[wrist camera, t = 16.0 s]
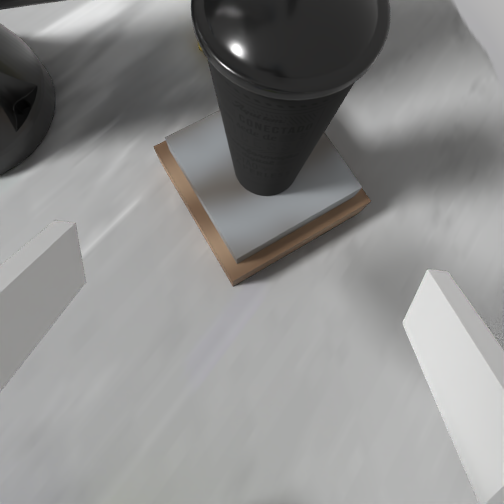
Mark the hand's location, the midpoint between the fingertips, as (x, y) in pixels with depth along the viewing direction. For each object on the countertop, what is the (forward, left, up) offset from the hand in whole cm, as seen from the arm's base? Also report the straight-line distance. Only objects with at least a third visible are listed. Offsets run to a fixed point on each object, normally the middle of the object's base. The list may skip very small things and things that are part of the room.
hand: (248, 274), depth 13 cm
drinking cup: (-8, +6, -11) cm, 15 cm away
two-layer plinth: (-8, +6, -16) cm, 19 cm away
